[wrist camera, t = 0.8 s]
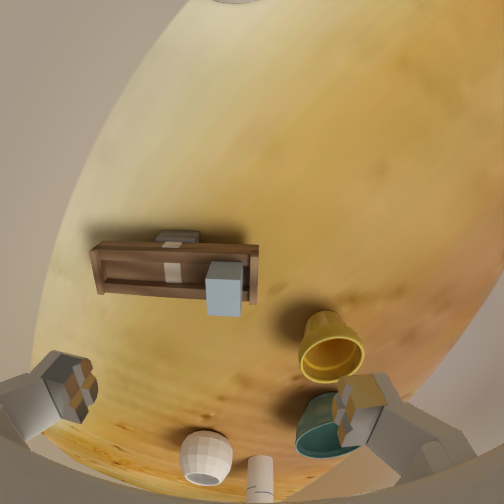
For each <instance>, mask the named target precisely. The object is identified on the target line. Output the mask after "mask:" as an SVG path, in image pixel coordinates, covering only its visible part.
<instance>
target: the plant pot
mask: <svg viewBox="0 0 504 504" xmlns="http://www.w3.org/2000/svg"><path fill="white" fill-rule="evenodd" d="M363 360H364V348H363V345H362V343H361V340H360V338H359V336H358V334H357V333H356V332H355V331H354V330H353V329H352V328H350V327H348V326H347V325H346V324H345V323H344V322H343V320H342V319H341V318H340V317H339V316H338V315H337V314H336V313H334V312H332V311H320V312H317V313H315V314H313V315H312V316H311V317H310V318H309V319H308V320H307V322H306V325H305V331H304V338H303V340H302V342H301V344H300V346H299V365H300V369H301V371H302V373H303V374H304V376H305V377H307V378H308V379H310V380H312V381H314V382H318V383H334V382H338V380H339V378H340V376H350V375H352V374H354V373H355V372H356V371H357V370H358V369H359V367H360V366H361V364H362V362H363Z"/></svg>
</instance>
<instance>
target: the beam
mask: <svg viewBox="0 0 504 504" xmlns="http://www.w3.org/2000/svg"><path fill="white" fill-rule="evenodd" d="M89 253H90V259H91V264H92V269H93V274H94V279H95V284H96V288H97V293H98V294H100V295H103V294H104V293H105V292H108V293H119V294H130V295H143V296H156V297H170V298H186V299H204V300H206V282H205V278H206V276H207V273H208V270H209V267H210V265H211V262H212V261H219V262H243V287H242V301H249V305H257V286H258V257H259V245H248V244H214V243H200V231H179V230H163V231H162V232H161V233H160V234H159V235H158V236H157V237H156V238H155V242H136V241H102V242H100V243H99V244H98V245H97V246H95V247H94V248H93V249H91V250H90V251H89Z"/></svg>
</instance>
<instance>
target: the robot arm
mask: <svg viewBox="0 0 504 504" xmlns="http://www.w3.org/2000/svg"><path fill="white" fill-rule="evenodd" d="M216 1H219V2H224V3H236V4H237V3H248V2H253V1H257V0H216ZM92 369H93V367H92V364H91V361H90V360H89V359H87V358H84V357H80V356H76V355H72V354H68V353H63V352H60V351H56V350H53V351H50V352H49V353H48V354H47V355H46V356H45V358H44V359H43V360H42V361H41V362H40V363H39V364H38V365H37V366H36V367H35V368H34V369H33V370H32V371H31V372H30V374H28V373H25V374H22V375H19V376H16V377H14V378H11V379H8V380H6V381H3V382H0V504H504V444H502V445H500V446H498V447H496V448H494V449H492V450H490V451H488V452H486V453H484V454H482V455H480V456H478V457H477V455H476V454H475V452H474V450H473V449H472V447H471V445H470V444H469V442H468V440H467V439H466V437H465V436H464V434H463V433H462V431H460V430H458V429H456V428H454V427H452V426H451V425H448V424H447V423H445V422H443V421H441V420H439V419H437V418H435V417H433V416H431V415H430V414H428V413H426V412H424V411H422V410H420V409H419V408H417V407H415V406H413V405H411V404H410V403H408V402H406V403H403V401H402V399H401V398H400V396H399V394H398V392H397V391H396V389H395V387H394V386H393V384H392V382H391V380H390V379H389V377H388V375H387V374H386V373H385V372H377V373H370V374H362V375H350V376H340V378H339V380H338V383H337V388H338V391H339V392H338V393H337V394H336V395H334V398H333V403H332V415H333V420H334V423H336V424H337V425H338V426H339V428H338V431H337V434H338V438H339V441H340V445H341V447H350V446H359V445H366V446H367V447H368V448H369V449H370V450H372V451H373V452H374V453H375V454H376V455H377V456H379V457H380V458H381V459H382V460H383V461H384V462H385V463H387V464H388V465H389V466H390V467H391V468H392V469H394V470H395V471H396V472H397V473H398V474H399V475H401V478H400V479H399V480H398V482H397V483H396V484H395V485H394V486H393V487H389V488H385V489H381V490H376V491H371V492H367V493H361V494H356V495H351V496H345V497H338V498H330V499H323V500H313V501H300V502H285V503H284V502H283V503H241V502H222V501H210V500H201V499H192V498H185V497H178V496H172V495H166V494H161V493H155V492H151V491H146V490H141V489H137V488H133V487H128V486H125V485H121V484H117V483H114V482H110V481H107V480H104V479H101V478H97V477H94V476H91V475H88V474H86V473H82V472H80V471H77V470H74V469H72V468H69V467H67V466H64V465H62V464H59V463H57V462H54V461H52V460H50V459H48V458H45V457H43V456H41V455H39V454H37V453H35V452H33V451H31V450H30V448H29V447H28V445H27V444H26V442H27V441H28V440H30V439H32V438H33V437H35V436H36V435H38V434H40V433H41V432H43V431H44V430H46V429H47V428H49V427H51V426H52V425H54V424H55V423H57V422H58V421H60V420H61V418H62V419H65V420H68V421H72V422H75V423H79V424H82V422H83V420H84V419H85V417H86V415H87V414H88V412H89V411H88V407H87V406H89V405H91V404H93V403H94V402H95V400H96V398H97V394H98V383H97V380H96V378H95V377H94V376H93V375H92V373H91V371H92Z"/></svg>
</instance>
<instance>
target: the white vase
mask: <svg viewBox="0 0 504 504" xmlns="http://www.w3.org/2000/svg"><path fill="white" fill-rule="evenodd" d="M232 454H233V452H232V447H231V444H230V442H229V441H228V440H227V439H226V438H225V437H224V436H222V435H220V434H219V433H216V432H212V431H205V430H203V431H196V432H194V433H192V434H189V435H188V436H187V437H186V439H185V440H184V442H183V443H182V446H181V450H180V459H179V461H180V465H181V469H182V471H183V474H184V476H185V478H186V479H187V480H188V481H190V482H192V483H195V484H198V485H204V486H215V485H218V484H220V483H221V482H222V481H223V480H224V479H225V477H226V476H227V475H228V473H229V471H230V469H231V464H232Z"/></svg>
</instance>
